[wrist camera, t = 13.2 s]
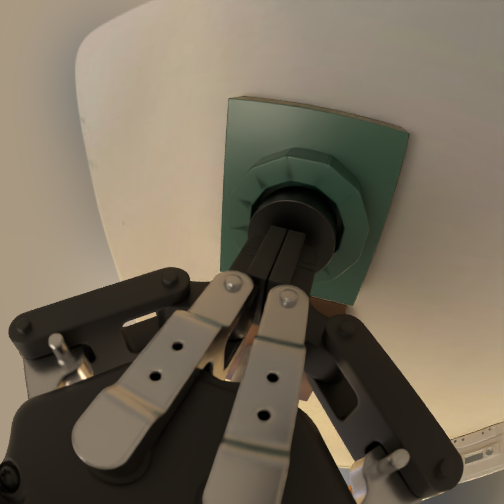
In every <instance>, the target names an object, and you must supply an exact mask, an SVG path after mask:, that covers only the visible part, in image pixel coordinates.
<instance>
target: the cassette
mask: <svg viewBox="0 0 504 504" xmlns="http://www.w3.org/2000/svg"><path fill="white" fill-rule="evenodd" d="M450 441H451V442H452V443H453V445H454V446H455V448H456V449H457V451H458V452H459V454H460V455H461V457H462V460H463V464H464V470H463V475H462V478H461V479H460V481H459V483H462V482H466V481H469V480H473V479H476V478H479V477H482V476H485V475H488V474H491V473H494V472H497V471H499V470H502V469H504V422H502V423H499V424H495V425H493V426H490V427H488V428H485V429H482V430H480V431H477V432H474V433H471V434H468V435H465V436H462V437H459V438H455V439H452V440H450ZM489 450H492V451H493V454H492V455H490V456H487V455H486V453H487V452H488V451H489ZM482 452H483V459H480V460H477V461H474V462H471V463H468V464H465V458H467V457H470V456H473V455H476V454H479V453H482ZM459 483H458V484H459Z"/></svg>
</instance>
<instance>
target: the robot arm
mask: <svg viewBox="0 0 504 504" xmlns="http://www.w3.org/2000/svg"><path fill="white" fill-rule="evenodd" d="M305 235H306V233H302V232H297V231H293V230H289V231H288V229H285V228H280V227H276V226H272V225H271V227H270V228H269V230H268V232H267V234H266V236H265V235H260V234H255V235H253V236H252V237H250V238H248V240H247V241H246V243H245V245H244V247H243V248H242V249H241V251H240V253H239V254H238V256H237V257H236V259H235V261H234V262H233V264H232V265H231V267H230V269H229V270H228V271H224V272H221V273H219V274H218V275H216V276H215V277H214V279H213V280H212V281H211V282H194V281H190V277H189V275H188V273H187V272H185V271H184V270H182V269H180V268H175V267H168V268H163V269H160V270H157V271H153V272H150V273H147V274H144V275H141V276H137V277H134V278H131V279H128V280H125V281H122V282H118V283H115V284H112V285H109V286H106V287H103V288H99V289H96V290H93V291H90V292H87V293H84V294H81V295H78V296H74V297H71V298H68V299H65V300H62V301H59V302H56V303H53V304H50V305H47V306H44V307H41V308H37V309H34V310H31V311H28V312H26V313H22V314H20V315H19V316H17V317H16V318H15V319H14V320H13V321H12V323H11V325H10V327H9V337H10V339H11V340H12V342H13V343H14V345H15V346H16V348H17V349H18V351H19V353H20V355H21V356H22V358H23V362H24V372H25V379H26V387H27V393H28V399H29V400H27V401H26V402H25V403H23V404H22V405H21V407H20V408H19V409H18V410H17V412H16V414H15V416H14V418H13V422H12V427H11V435H10V440H9V446H8V449H7V453H6V456H5V458H4V460H3V462H2V463H1V464H0V504H418V503H419V502H421V501H422V500H424V499H427V498H430V497H433V496H436V495H438V494H440V493H443V492H446V491H448V490H450V489H452V488H453V487H455V486H456V485H457V484H458V483H459V481H460V479H461V478H462V475H463V470H464V464H463V460H462V457H461V455H460V454H459V452H458V451H457V449H456V448H455V446H454V445H453V443H452V442H451V441H450V439H449V438H448V436H447V435H446V433H445V432H444V430H443V429H442V428H441V426H440V425H439V423H438V422H437V421H436V419H435V418H434V416H433V415H432V414H431V412H430V411H429V409H428V408H427V407H426V405H425V404H424V402H423V401H422V400H421V398H420V397H419V396H418V394H417V393H416V392H415V390H414V389H413V388H412V386H411V385H410V383H409V382H408V381H407V379H406V378H405V377H404V375H403V374H402V373H401V371H400V370H399V369H398V368H397V366H396V365H395V364H394V362H393V361H392V360H391V358H390V357H389V356H388V354H387V353H386V352H385V351H384V349H383V348H382V347H381V345H380V344H379V343H378V342H377V340H376V339H375V338H374V336H373V335H372V334H371V333H370V331H369V330H368V329H367V328H366V326H365V325H364V324H363V323H362V322H361V321H360V320H359V319H357V318H356V317H354V316H351V315H347V314H337V315H334V316H332V317H331V318H329V317H327V316H325V315H323V314H322V313H320V312H319V311H317V310H316V309H315V308H314V306H313V305H312V303H311V300H310V293H311V289H312V284H313V280H314V275H315V270H316V265H317V261H318V253H317V251H316V249H315V248H314V247H310V246H306V245H303V244H304V240H305ZM153 312H156V315H157V316H155V317H153V318H150V319H147V320H144V321H141V322H138V323H136V324H133V325H130V326H127V327H122V326H123V324H124V323H126V322H127V321H130V320H133V319H136V318H139V317H142V316H145V315H148V314H150V313H153ZM252 324H254V325H258V326H259V328H258V332H257V335H255V337H254V340H253V343H252V346H251V350H250V353H249V356H248V360H247V363H246V366H245V370H244V373H243V376H242V380H241V383H240V382H230V381H225V378H226V376H227V374H228V372H229V370H230V368H231V366H232V365H233V363H234V361H235V359H236V357H237V356H238V354H239V352H240V350H241V348H242V346H243V345H244V343H245V341H246V339H247V334H248V332H249V330H250V328H251V325H252ZM259 324H260V325H259ZM303 372H304V373H306V378H307V381H308V383H309V384H310V386H311V388H312V390H313V391H314V393H315V395H316V396H317V398H318V400H319V402H320V403H321V405H322V407H323V408H324V410H325V412H326V414H327V415H328V417H329V419H330V420H331V422H332V424H333V425H334V427H335V429H336V430H337V432H338V434H339V436H340V437H341V439H342V441H343V442H344V444H345V446H346V447H347V449H348V451H349V452H350V454H351V456H352V457H353V459H354V461H355V462H354V464H353V465H352V467H351V469H350V472H349V481H350V484H351V487H352V491H353V495H352V493H351V491H350V490H349V488H348V486H347V484H346V482H345V480H344V478H343V476H342V475H341V473H340V471H339V469H338V467H337V465H336V463H335V461H334V459H333V457H332V455H331V453H330V451H329V450H328V448H327V446H326V444H325V442H324V440H323V438H322V436H321V434H320V432H319V430H318V428H317V427H316V425H315V424H314V422H313V421H312V419H311V418H310V417H309V416H308V415H307V414H306V413H305V412H304V411H302V410H301V409H300V408H298V403H299V397H300V390H301V384H302V377H303Z"/></svg>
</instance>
